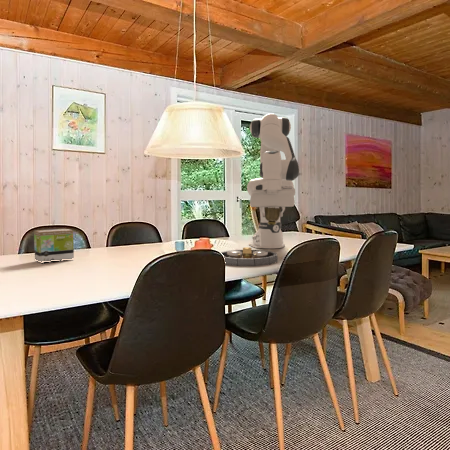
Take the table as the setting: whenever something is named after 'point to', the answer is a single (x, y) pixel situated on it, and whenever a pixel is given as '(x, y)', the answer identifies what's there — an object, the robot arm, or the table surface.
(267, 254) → the tray
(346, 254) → the table surface
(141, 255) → the table surface
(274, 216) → the cup
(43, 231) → the tea box
